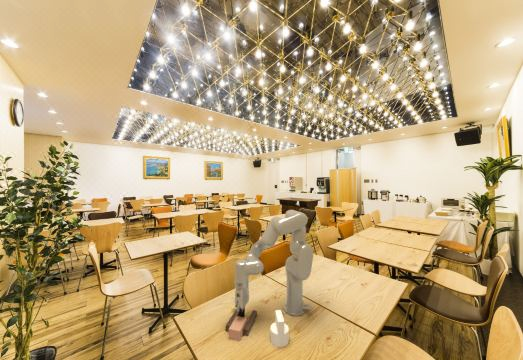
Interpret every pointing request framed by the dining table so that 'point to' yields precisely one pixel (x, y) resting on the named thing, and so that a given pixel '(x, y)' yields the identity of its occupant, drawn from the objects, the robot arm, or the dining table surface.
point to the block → (237, 328)
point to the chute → (247, 325)
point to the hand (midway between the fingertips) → (241, 316)
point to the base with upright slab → (279, 331)
